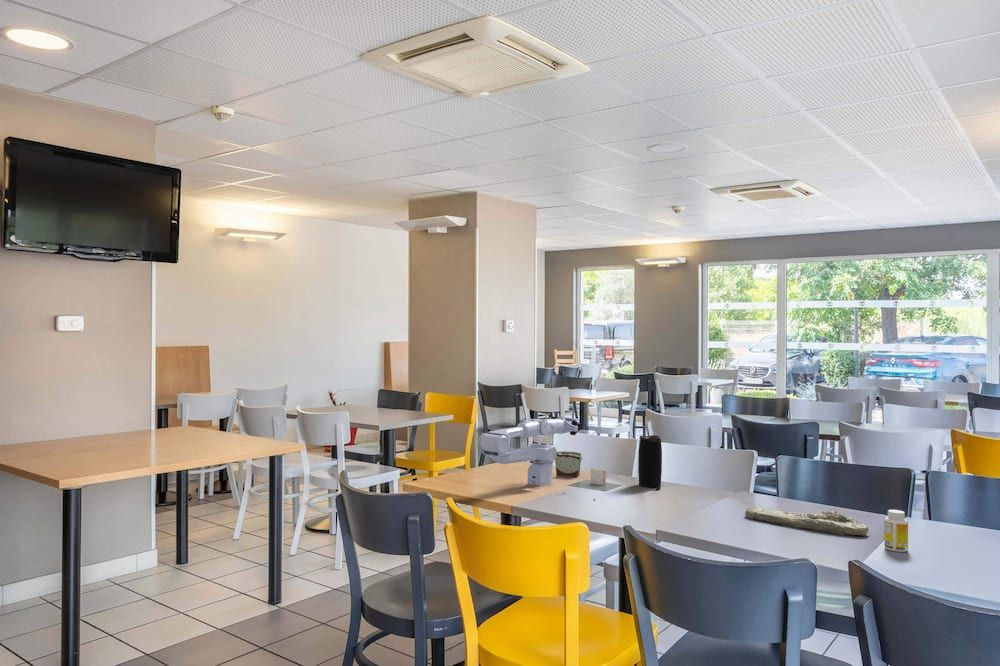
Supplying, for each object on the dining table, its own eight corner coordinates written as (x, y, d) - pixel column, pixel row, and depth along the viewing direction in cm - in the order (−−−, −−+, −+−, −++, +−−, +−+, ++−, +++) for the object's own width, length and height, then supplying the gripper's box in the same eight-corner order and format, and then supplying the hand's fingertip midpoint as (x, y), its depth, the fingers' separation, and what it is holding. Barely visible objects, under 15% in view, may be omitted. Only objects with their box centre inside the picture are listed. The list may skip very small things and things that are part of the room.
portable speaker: (655, 486, 270) (656, 434, 270) (665, 491, 261) (666, 437, 261) (634, 486, 268) (634, 434, 268) (643, 491, 259) (644, 438, 259)
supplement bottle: (910, 549, 191) (910, 511, 191) (904, 554, 186) (905, 515, 187) (887, 545, 194) (887, 507, 194) (881, 549, 190) (881, 511, 190)
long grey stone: (752, 518, 229) (741, 526, 221) (751, 501, 229) (739, 509, 221) (872, 531, 207) (864, 540, 200) (871, 513, 207) (863, 521, 200)
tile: (603, 485, 263) (603, 470, 263) (590, 483, 267) (590, 469, 267) (605, 485, 265) (605, 470, 265) (592, 483, 268) (592, 468, 268)
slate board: (605, 494, 254) (605, 491, 254) (566, 488, 264) (566, 485, 264) (623, 488, 265) (623, 485, 265) (586, 482, 275) (586, 479, 275)
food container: (587, 478, 284) (588, 453, 284) (581, 480, 278) (581, 455, 279) (560, 474, 290) (560, 450, 290) (553, 477, 285) (553, 452, 285)
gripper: (569, 418, 269) (589, 417, 279) (539, 413, 278) (559, 412, 288) (567, 437, 269) (587, 435, 279) (537, 431, 278) (558, 429, 288)
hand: (573, 425), depth 283 cm, fingers open, 7 cm apart
